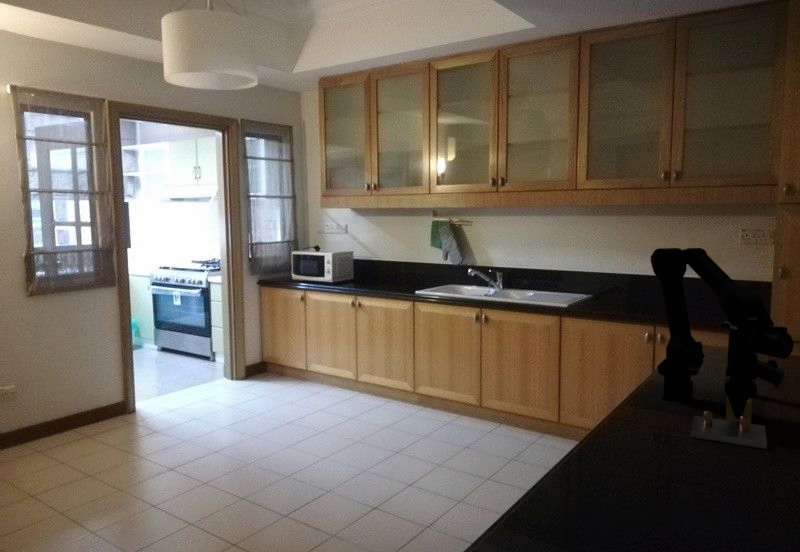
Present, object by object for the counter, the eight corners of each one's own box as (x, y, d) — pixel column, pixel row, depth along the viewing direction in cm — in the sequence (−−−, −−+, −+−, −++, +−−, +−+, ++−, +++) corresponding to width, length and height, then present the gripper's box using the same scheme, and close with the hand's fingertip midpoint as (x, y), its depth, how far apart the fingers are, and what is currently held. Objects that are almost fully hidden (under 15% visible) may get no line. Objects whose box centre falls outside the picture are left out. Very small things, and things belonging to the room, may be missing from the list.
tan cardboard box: (726, 421, 141) (727, 400, 141) (726, 414, 145) (727, 394, 145) (750, 424, 139) (752, 403, 138) (750, 418, 143) (751, 397, 143)
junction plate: (690, 437, 131) (691, 416, 131) (693, 422, 141) (694, 403, 140) (766, 449, 124) (767, 427, 124) (764, 432, 134) (765, 412, 134)
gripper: (786, 361, 128) (781, 433, 130) (780, 345, 145) (776, 409, 146) (726, 356, 134) (722, 425, 135) (727, 340, 150) (724, 402, 152)
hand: (738, 415), depth 142 cm, fingers closed on tan cardboard box, 5 cm apart
